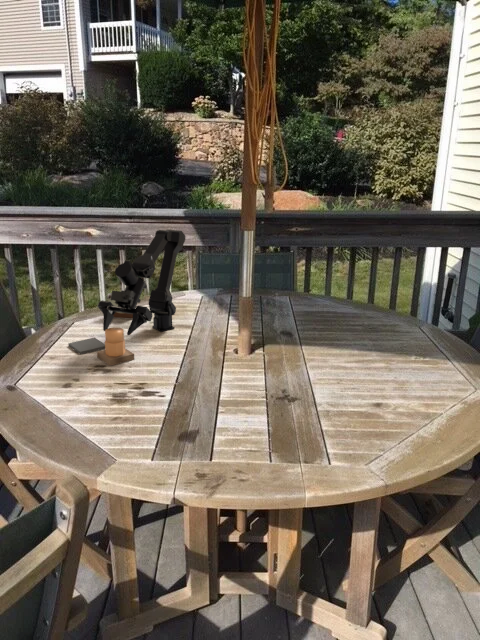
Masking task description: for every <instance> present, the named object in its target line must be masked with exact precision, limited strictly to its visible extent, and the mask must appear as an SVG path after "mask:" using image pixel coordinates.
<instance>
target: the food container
mask: <svg viewBox="0 0 480 640" xmlns="http://www.w3.org/2000/svg"><path fill="white" fill-rule="evenodd" d="M111 294H112V292H110V293H107V296H106V300H107V301H110V302H111V303H112V304H113V305H114V306H118V304H116V303H115V301H114V300H110V299H111ZM113 316H114V318H113V319H120V318H125V319H124V320H132V319H133V314H127V313H120V312H115V314H114V315H113Z"/></svg>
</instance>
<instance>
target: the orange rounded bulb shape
mask: <svg viewBox="0 0 480 640" xmlns="http://www.w3.org/2000/svg"><path fill="white" fill-rule="evenodd" d="M124 332H125V331H124V329H123V328H122V327H117V326H115V327H113V326H112V327H108V329H106V330H105V331H104V337H105V340H104V344H105V349H104V350H105V352H106V354H107V355H108V356H120V355H123V354H124V353H125V349H126V339H125V336H124V335H125V333H124Z"/></svg>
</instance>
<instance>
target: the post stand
mask: <svg viewBox="0 0 480 640" xmlns="http://www.w3.org/2000/svg"><path fill="white" fill-rule="evenodd" d="M96 355H97V358H98V359H99V360H101V361H102V362H103V363H105V364H107V365H108V366H114V365H118V364H122V363H125V362H129V361H134V360H135V353H134V352H132V351H130V350H129V349H127V348H125V353H124V354H123V355H120V356H108V355H107V354H106V352H105V349H102V350H98V351H96Z"/></svg>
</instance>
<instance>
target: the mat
mask: <svg viewBox="0 0 480 640" xmlns="http://www.w3.org/2000/svg"><path fill="white" fill-rule="evenodd" d="M67 345H68V347H69V348H70V349H72V350H74V351H75V352H76V353H77V354H79V355H85V354H89V353H93V352H98V351H102V350H105V342H103V341H101V340H99V339H98V338H97V337H90V338H86V339H81V340H76V341H72V342H68V344H67ZM101 349H102V350H101Z"/></svg>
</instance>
